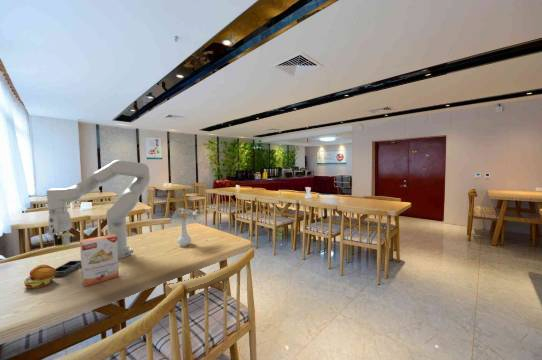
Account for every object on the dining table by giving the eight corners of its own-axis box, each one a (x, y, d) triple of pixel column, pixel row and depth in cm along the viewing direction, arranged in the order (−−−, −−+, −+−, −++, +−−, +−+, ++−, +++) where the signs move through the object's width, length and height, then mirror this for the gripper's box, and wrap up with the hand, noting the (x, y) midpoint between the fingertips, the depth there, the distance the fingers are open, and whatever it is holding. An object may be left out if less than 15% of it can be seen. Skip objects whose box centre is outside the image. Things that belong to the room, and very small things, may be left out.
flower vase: (201, 242, 170) (200, 207, 168) (179, 250, 155) (178, 212, 153) (189, 239, 177) (188, 206, 175) (167, 246, 162) (165, 210, 160)
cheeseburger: (36, 279, 117) (40, 259, 117) (59, 283, 118) (63, 264, 118) (16, 290, 107) (21, 268, 107) (42, 294, 108) (46, 273, 108)
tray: (84, 264, 134) (83, 260, 134) (64, 276, 120) (63, 271, 120) (70, 265, 134) (70, 260, 133) (48, 277, 120) (48, 272, 119)
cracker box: (84, 287, 109) (81, 242, 108) (82, 282, 114) (79, 239, 112) (119, 276, 119) (117, 235, 118) (116, 273, 123) (114, 233, 122)
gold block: (70, 244, 134) (68, 232, 134) (64, 247, 130) (62, 234, 129) (61, 244, 134) (59, 232, 133) (54, 247, 130) (52, 235, 129)
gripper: (52, 214, 122) (56, 248, 124) (77, 207, 139) (80, 238, 140) (36, 215, 122) (41, 249, 123) (63, 208, 138) (67, 238, 140)
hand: (62, 243), depth 132 cm, fingers closed on gold block, 4 cm apart
